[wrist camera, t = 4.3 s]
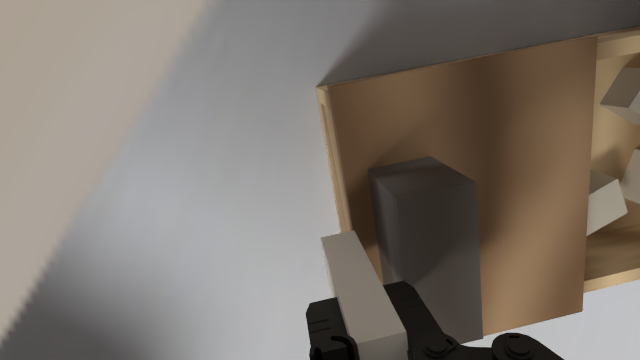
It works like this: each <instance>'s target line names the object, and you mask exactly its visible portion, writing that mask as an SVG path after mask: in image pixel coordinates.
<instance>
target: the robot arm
mask: <svg viewBox="0 0 640 360" xmlns="http://www.w3.org/2000/svg"><path fill="white" fill-rule="evenodd" d="M321 242H322V248H323V253H324V258H325V263H326V268H327V274H328V279H329V284H330V289H331V293H332V297H333V298H330V299H326V300H321V301H317V302H313V303H310V304H309V307H308V309H307V312H306V318H307V324H308V331H309V338H310V344H311V348H310V355H309V356H310V360H564V359H562V358H561V357H560V356H558V355H557V354H555V353H554V352H553V351H551V350H550V349H548V348H547V347H546V346H544V345H543V344H541V343H540V342H539V341H537V340H535V339H533V338H531V337H530V336H527V335H524V334H520V333H505V334H502V335H499V336H498V337H496V338H495V339H494V340H493V343H492V348H488V347H468V346H464V345H460V344H459V343H458V342H457V341H456V340H455V339H454V338H453V337H451V336H449V335H447V334H444V332H443V331H442V329H441V328H440V326H439V325H438V323H437V322H436V320H435V319H434V317H433V316H432V314H431V312H430V311H429V309H428V308H427V306H425V303H424V302H423V300H422V299H421V298H420V296H419V294H418V292H417V291H416V289H415V288H414V287H413V286H411V285H410V284H408V283H407V282H405V281H399V282H395V283H391V284H386V285H382V283H381V282H380V280H379V278H378V276H377V274H376V272H375V270H374V268H373V266H372V264H371V262H370V260H369V258H368V256H367V254H366V252H365V250H364V249H363V247H362V245H361V243H360V241H359V239H358V237H357V235H356V233H355V231H349V232H345V233H340V234H335V235H331V236H326V237H322V238H321Z"/></svg>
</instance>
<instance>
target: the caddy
mask: <svg viewBox="0 0 640 360" xmlns="http://www.w3.org/2000/svg"><path fill="white" fill-rule="evenodd" d="M591 36H598V41H597V59H596V77H595V94H594V112H593V130H592V147H591V165H590V170H593V171H596V172H599V173H602V174H605V175H609V176H612V177H615V178H618V181H619V185H620V184H621V181H622V179H623V176H624V174H625V171H626V169H627V167H628V164H629V162H630V159H631V157H632V154H633V152H634V149H639V150H640V125H636V124H632V123H631V122H629V121H627V120H625V119H624V118H622V117H620V116H619V115H617V114H615V113H613V112H612V111H610V110H608V109H607V108H605V107H603V106H601V105H600V102H601V101H602V99H603V98H604V96H605V94H606V93H607V91H608V90H609V88H610V86H611V85H612V83H613V82H614V80H615V78H616V77H617V75H618V74H619V72H620V70H621V69H622V68H640V26H636V27H631V28H626V29H621V30H615V31H610V32H605V33H599V34H594V35H589V36H584V37H591ZM578 38H581V37H578ZM573 39H576V38H573ZM568 40H571V39H568ZM562 41H565V40H562ZM557 42H560V41H557ZM552 43H555V42H552ZM546 44H550V43H546ZM541 45H544V44H541ZM536 46H539V45H536ZM531 47H534V46H531ZM525 48H528V47H525ZM520 49H523V48H520ZM515 50H518V49H515ZM509 51H513V50H509ZM504 52H507V51H504ZM499 53H502V52H499ZM494 54H497V53H494ZM488 55H491V54H488ZM483 56H486V55H483ZM478 57H481V56H478ZM472 58H476V57H472ZM467 59H470V58H467ZM462 60H465V59H462ZM456 61H460V60H456ZM451 62H454V61H451ZM446 63H449V62H446ZM441 64H444V63H441ZM435 65H439V64H435ZM430 66H433V65H430ZM425 67H428V66H425ZM419 68H423V67H419ZM414 69H417V68H414ZM409 70H412V69H409ZM404 71H407V70H404ZM398 72H401V71H398ZM393 73H396V72H393ZM388 74H391V73H388ZM382 75H386V74H382ZM377 76H380V75H377ZM372 77H375V76H372ZM367 78H370V77H367ZM361 79H364V78H361ZM356 80H359V79H356ZM351 81H354V80H351ZM345 82H349V81H345ZM340 83H343V82H340ZM335 84H338V83H335ZM329 85H333V84H329ZM316 90H317V96H318V102H319V108H320V113H321V119H322V125H323V131H324V137H325V143H326V148H327V154H328V160H329V166H330V172H331V178H332V184H333V189H334V195H335V201H336V207H337V213H338V219H339V224H340V230H341V233H345V232H349V231H350V224H349V218H348V212H347V206H346V200H345V194H344V187H343V181H342V175H341V169H340V163H339V156H338V150H337V144H336V138H335V132H334V126H333V119H332V113H331V107H330V101H329V95H328V89H327V85H324V86H319V87H316ZM624 201H625V205H626V208H627V211H628V213H626V214H625V215H623V216H621V217H619V218H618V219H616V220H614V221H612V222H611V223H609V224H607V225H605V226H604V227H602V228H600V229H598V230H597V231H595V232H593V233H591V234H590V235H588V236H586V254H585V271H584V289H583V293H586V292H590V291H594V290H598V289H602V288H606V287H610V286H614V285H618V284H622V283H626V282H630V281H634V280H638V279H640V204H639V203H636V202H634V201H631V200H628V199H626V198H624Z"/></svg>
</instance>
